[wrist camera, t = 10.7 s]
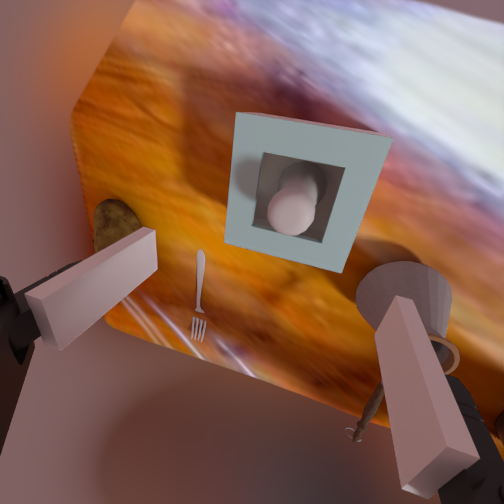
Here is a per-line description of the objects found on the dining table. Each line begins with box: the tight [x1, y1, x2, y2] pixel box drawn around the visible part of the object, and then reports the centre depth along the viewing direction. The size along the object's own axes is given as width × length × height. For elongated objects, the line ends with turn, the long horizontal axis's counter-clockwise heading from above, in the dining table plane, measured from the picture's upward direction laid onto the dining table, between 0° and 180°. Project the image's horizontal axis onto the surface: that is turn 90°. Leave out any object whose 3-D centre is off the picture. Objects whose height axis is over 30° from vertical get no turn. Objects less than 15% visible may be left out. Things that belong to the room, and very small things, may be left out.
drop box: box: [224, 112, 393, 273], centre depth 30 cm, size 14×14×9 cm
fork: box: [191, 249, 206, 342], centre depth 48 cm, size 3×24×2 cm, turn 173°
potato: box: [93, 199, 142, 253], centre depth 42 cm, size 8×13×8 cm, turn 173°
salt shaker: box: [267, 161, 327, 236], centre depth 28 cm, size 6×6×13 cm
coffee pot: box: [344, 261, 460, 443], centre depth 33 cm, size 21×12×15 cm, turn 164°
